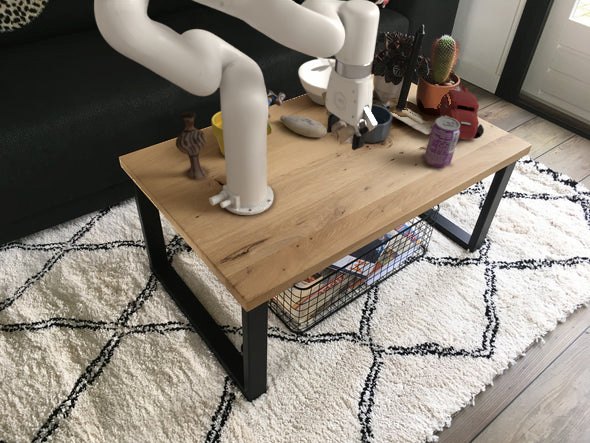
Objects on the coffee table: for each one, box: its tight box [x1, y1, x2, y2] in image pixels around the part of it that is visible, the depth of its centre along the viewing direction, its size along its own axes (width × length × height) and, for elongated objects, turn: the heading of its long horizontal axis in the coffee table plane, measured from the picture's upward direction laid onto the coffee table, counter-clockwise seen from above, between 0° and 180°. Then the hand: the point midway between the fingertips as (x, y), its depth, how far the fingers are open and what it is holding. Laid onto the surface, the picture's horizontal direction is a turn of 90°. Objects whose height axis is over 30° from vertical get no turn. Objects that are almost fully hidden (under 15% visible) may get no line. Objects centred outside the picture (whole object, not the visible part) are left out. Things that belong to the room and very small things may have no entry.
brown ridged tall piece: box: [175, 110, 207, 180], centre depth 122 cm, size 7×5×18 cm
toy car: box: [436, 83, 485, 140], centre depth 148 cm, size 15×28×10 cm, turn 177°
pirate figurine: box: [266, 88, 287, 137], centre depth 138 cm, size 14×13×15 cm
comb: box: [390, 107, 435, 135], centre depth 148 cm, size 15×2×10 cm
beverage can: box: [423, 116, 460, 168], centre depth 132 cm, size 7×7×12 cm
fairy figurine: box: [311, 57, 335, 72], centre depth 151 cm, size 6×7×7 cm
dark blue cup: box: [348, 103, 393, 144], centre depth 143 cm, size 12×12×6 cm
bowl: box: [297, 58, 336, 106], centre depth 156 cm, size 19×20×8 cm
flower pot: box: [211, 110, 225, 156], centre depth 132 cm, size 10×10×10 cm
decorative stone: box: [279, 115, 328, 138], centre depth 143 cm, size 6×16×3 cm, turn 60°
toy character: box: [330, 119, 355, 146], centre depth 113 cm, size 4×8×6 cm
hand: (345, 138), depth 114 cm, fingers closed on toy character, 7 cm apart
